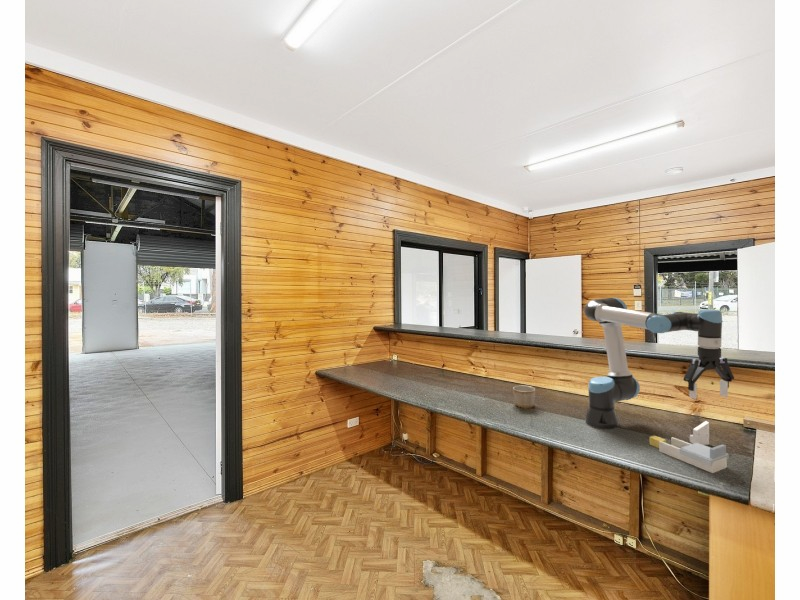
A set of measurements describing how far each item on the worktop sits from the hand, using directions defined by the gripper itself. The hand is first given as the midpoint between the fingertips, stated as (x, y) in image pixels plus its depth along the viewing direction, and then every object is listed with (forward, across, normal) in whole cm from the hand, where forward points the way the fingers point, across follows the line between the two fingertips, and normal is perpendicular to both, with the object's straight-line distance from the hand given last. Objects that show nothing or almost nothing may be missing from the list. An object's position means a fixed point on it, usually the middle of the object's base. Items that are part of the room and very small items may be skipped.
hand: (708, 397), depth 154 cm
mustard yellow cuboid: (+25, -14, +10) cm, 30 cm away
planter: (+26, -51, +70) cm, 90 cm away
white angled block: (+25, +5, +9) cm, 27 cm away
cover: (+21, -9, -7) cm, 24 cm away
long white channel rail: (+24, -10, -3) cm, 27 cm away
